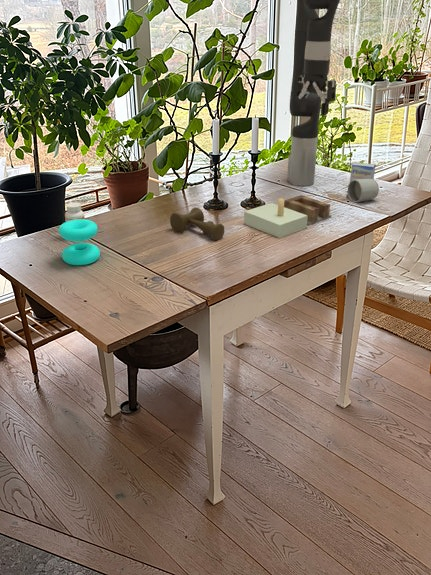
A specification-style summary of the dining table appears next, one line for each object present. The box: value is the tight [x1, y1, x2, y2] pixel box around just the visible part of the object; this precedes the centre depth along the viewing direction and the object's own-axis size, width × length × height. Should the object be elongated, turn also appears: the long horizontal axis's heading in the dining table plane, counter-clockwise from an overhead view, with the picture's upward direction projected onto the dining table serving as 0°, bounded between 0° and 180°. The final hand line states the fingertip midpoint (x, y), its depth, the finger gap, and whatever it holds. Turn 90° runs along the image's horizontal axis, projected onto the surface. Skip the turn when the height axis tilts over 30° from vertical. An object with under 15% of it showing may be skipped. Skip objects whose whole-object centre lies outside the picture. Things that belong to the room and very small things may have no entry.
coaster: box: [307, 214, 332, 226], centre depth 186 cm, size 11×11×1 cm
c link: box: [284, 194, 331, 222], centre depth 185 cm, size 12×8×4 cm, turn 41°
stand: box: [243, 197, 308, 239], centre depth 177 cm, size 15×12×9 cm
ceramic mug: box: [346, 179, 380, 203], centre depth 200 cm, size 11×8×8 cm
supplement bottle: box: [64, 202, 85, 222], centre depth 169 cm, size 5×5×10 cm
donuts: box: [58, 219, 101, 266], centre depth 155 cm, size 10×10×10 cm
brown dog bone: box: [169, 207, 225, 242], centre depth 174 cm, size 6×10×20 cm
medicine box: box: [349, 161, 376, 183], centre depth 211 cm, size 8×4×9 cm, turn 68°
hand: (313, 113), depth 181 cm, fingers open, 8 cm apart
